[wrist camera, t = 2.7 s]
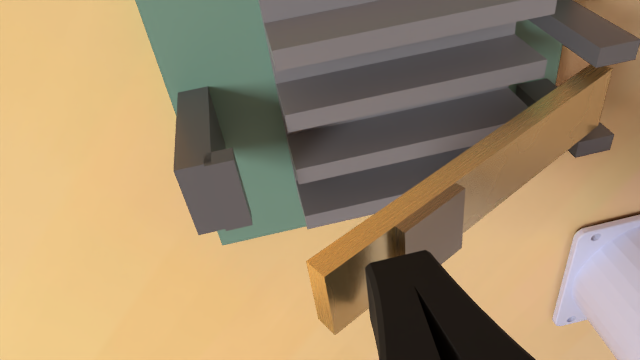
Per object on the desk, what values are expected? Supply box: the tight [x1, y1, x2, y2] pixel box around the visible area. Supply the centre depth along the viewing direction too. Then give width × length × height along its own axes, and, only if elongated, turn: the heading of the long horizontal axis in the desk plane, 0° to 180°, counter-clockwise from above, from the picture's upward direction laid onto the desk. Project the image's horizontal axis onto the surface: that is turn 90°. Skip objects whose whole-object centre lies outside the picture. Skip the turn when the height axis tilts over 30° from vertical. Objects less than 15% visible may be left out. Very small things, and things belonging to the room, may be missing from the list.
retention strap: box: [306, 64, 612, 335], centre depth 13 cm, size 11×2×1 cm, turn 97°
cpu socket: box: [135, 0, 640, 245], centre depth 17 cm, size 14×12×5 cm
